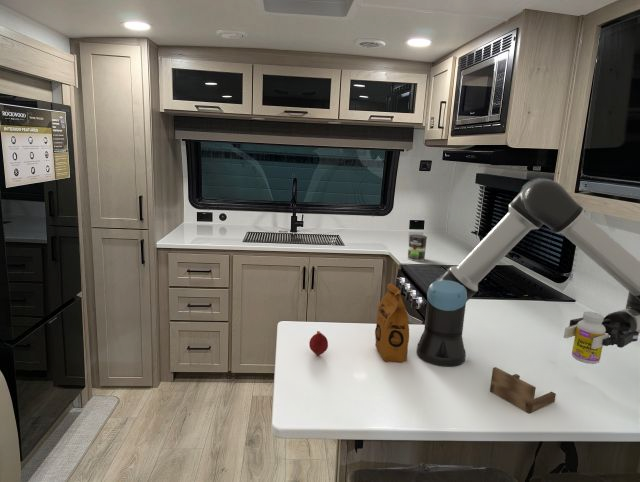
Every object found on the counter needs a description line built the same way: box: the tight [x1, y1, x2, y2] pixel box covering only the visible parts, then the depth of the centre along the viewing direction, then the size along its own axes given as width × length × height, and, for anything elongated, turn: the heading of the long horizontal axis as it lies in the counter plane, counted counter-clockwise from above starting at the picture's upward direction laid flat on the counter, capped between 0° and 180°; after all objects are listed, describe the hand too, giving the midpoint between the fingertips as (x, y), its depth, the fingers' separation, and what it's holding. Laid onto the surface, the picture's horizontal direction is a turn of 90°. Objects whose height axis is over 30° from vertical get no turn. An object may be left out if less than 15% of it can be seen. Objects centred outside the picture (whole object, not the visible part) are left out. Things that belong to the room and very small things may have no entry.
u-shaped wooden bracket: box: [489, 366, 557, 414], centre depth 121 cm, size 12×11×7 cm
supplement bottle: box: [571, 311, 606, 365], centre depth 121 cm, size 7×7×13 cm
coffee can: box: [407, 234, 428, 262], centre depth 270 cm, size 10×10×14 cm
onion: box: [308, 330, 329, 356], centre depth 140 cm, size 6×6×8 cm
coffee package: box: [374, 282, 410, 363], centre depth 141 cm, size 10×12×22 cm
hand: (579, 338), depth 118 cm, fingers closed on supplement bottle, 7 cm apart
